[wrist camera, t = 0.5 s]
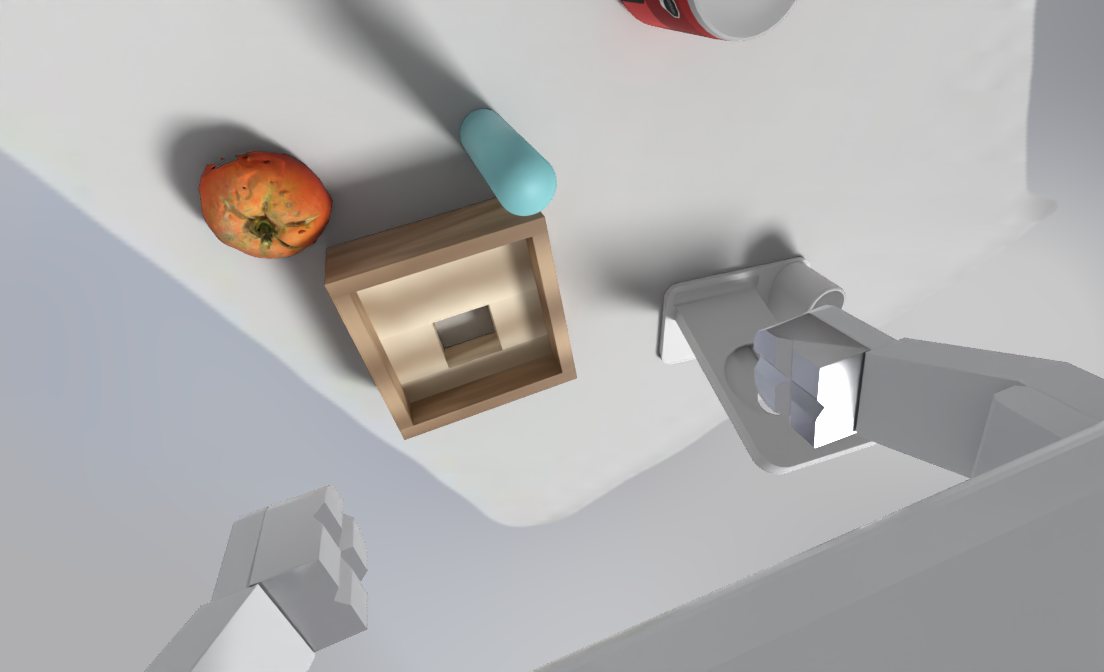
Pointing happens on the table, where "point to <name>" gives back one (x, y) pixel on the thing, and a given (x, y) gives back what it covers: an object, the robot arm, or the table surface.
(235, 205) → the tomato
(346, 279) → the box
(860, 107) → the table surface
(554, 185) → the peg
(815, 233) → the table surface
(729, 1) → the canned food
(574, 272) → the table surface
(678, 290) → the phone holder
